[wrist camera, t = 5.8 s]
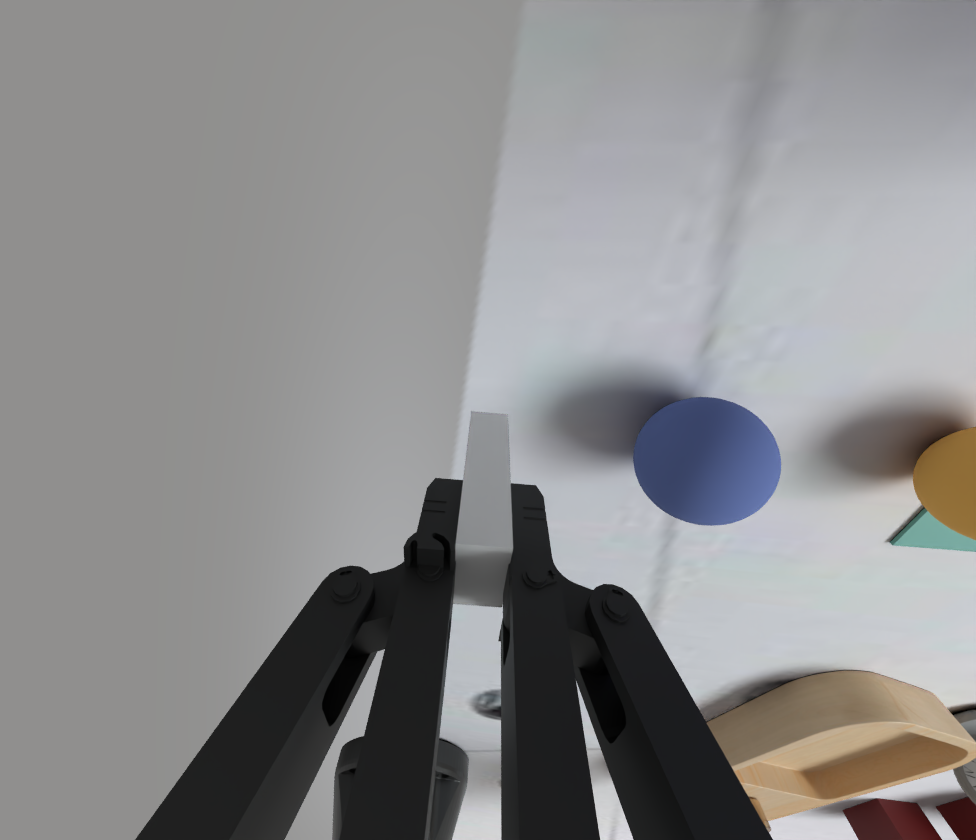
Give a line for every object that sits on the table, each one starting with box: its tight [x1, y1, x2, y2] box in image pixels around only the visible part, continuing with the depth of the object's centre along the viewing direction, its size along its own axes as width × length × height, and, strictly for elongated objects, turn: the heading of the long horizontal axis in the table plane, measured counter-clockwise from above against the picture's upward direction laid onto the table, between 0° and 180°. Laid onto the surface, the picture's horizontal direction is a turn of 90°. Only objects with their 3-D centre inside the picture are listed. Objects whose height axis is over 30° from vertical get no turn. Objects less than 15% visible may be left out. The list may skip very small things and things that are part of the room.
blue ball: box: [633, 397, 781, 525], centre depth 16 cm, size 6×6×6 cm
